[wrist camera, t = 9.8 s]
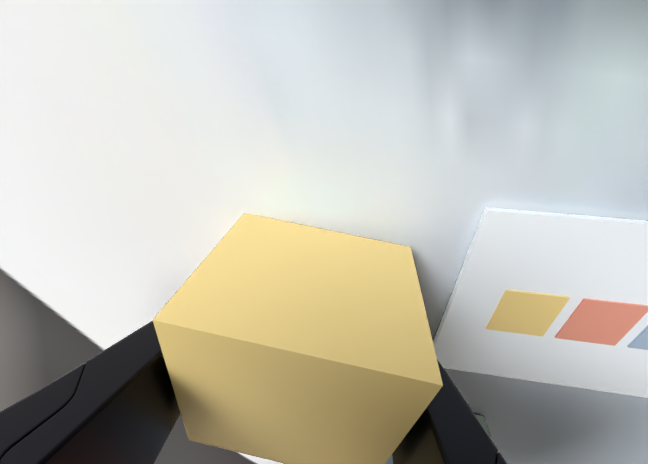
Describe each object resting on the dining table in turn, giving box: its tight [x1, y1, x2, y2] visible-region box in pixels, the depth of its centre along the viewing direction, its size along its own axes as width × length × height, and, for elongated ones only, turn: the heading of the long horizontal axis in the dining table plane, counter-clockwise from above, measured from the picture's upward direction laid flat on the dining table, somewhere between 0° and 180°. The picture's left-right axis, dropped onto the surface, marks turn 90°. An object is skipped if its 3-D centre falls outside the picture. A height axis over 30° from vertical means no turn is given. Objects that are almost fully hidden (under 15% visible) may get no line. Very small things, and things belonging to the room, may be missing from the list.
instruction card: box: [433, 207, 648, 398], centre depth 8 cm, size 9×7×1 cm
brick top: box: [153, 213, 443, 464], centre depth 8 cm, size 5×5×4 cm
